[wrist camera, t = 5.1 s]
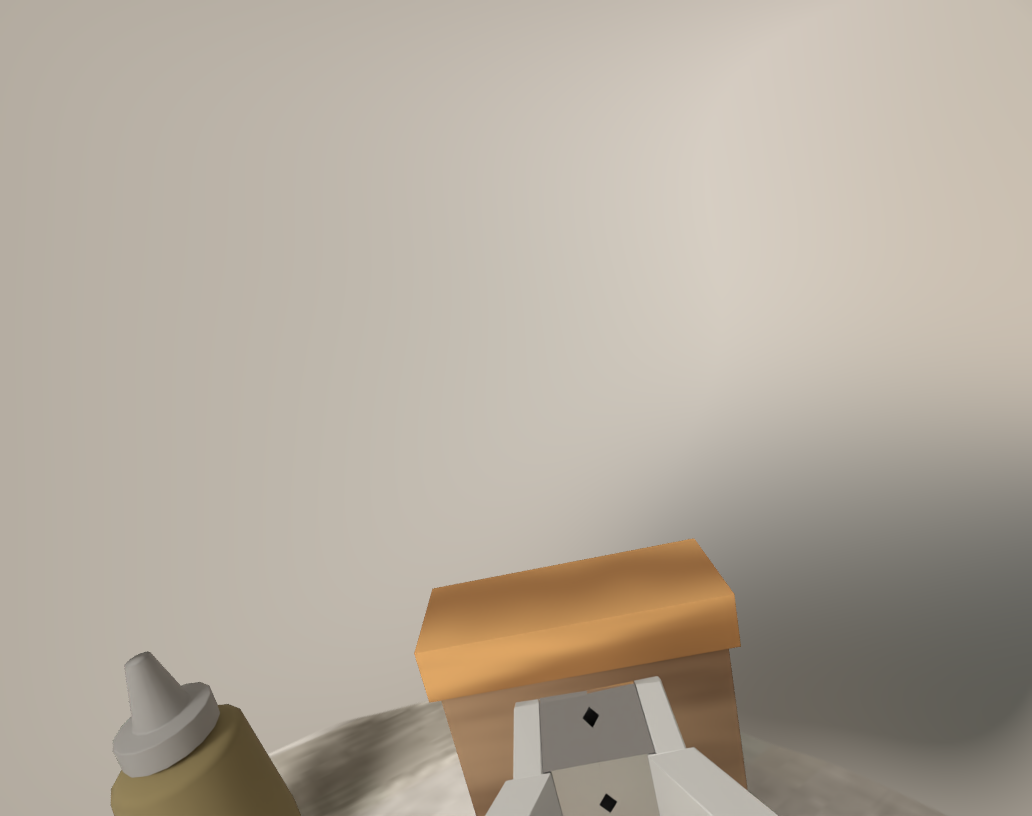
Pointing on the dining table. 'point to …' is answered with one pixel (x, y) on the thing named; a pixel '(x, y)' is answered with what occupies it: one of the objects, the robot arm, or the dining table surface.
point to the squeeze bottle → (190, 753)
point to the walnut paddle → (582, 650)
